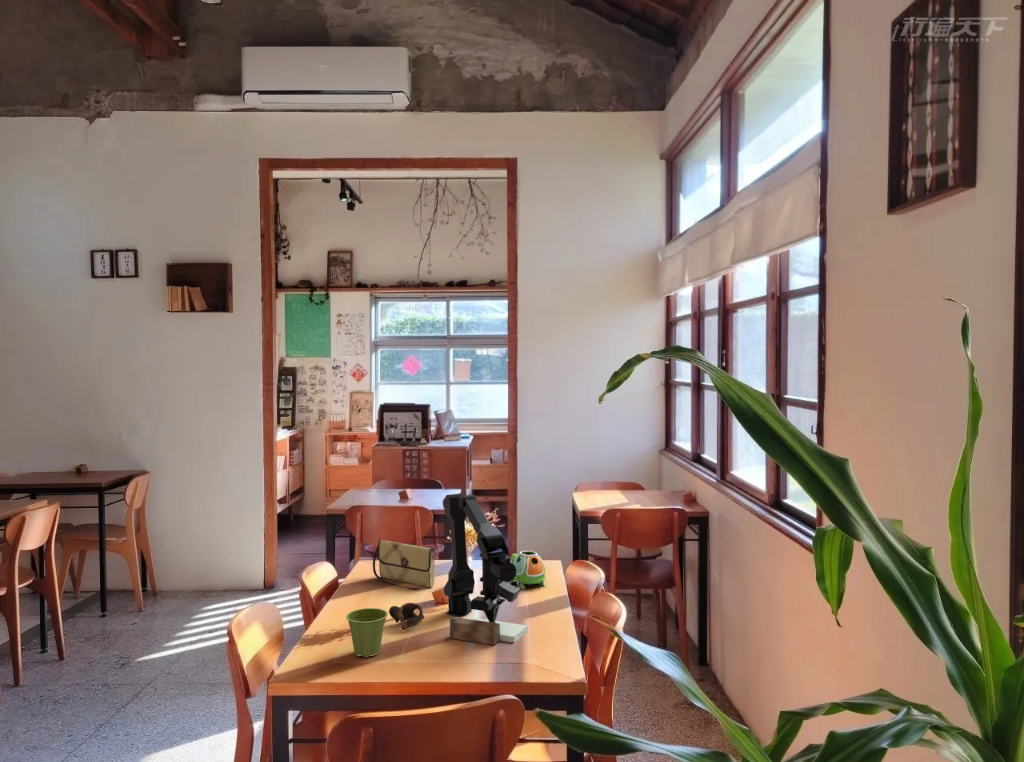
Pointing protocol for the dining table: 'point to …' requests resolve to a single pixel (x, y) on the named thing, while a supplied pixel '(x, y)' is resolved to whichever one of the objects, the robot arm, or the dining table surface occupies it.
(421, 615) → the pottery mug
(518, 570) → the turtle holder
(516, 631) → the pale green flat block
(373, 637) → the plant pot
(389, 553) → the clutch purse
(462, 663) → the dining table surface
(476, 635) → the folding leg
